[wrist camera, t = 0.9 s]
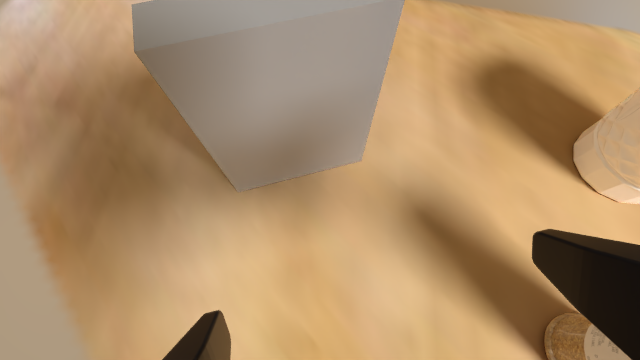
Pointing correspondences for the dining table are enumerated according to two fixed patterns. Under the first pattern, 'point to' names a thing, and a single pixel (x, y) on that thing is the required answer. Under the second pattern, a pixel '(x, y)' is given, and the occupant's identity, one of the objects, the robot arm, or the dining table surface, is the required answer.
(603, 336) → the sprinkles bottle
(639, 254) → the robot arm
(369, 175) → the dining table surface
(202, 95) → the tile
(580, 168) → the white cup
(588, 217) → the dining table surface
